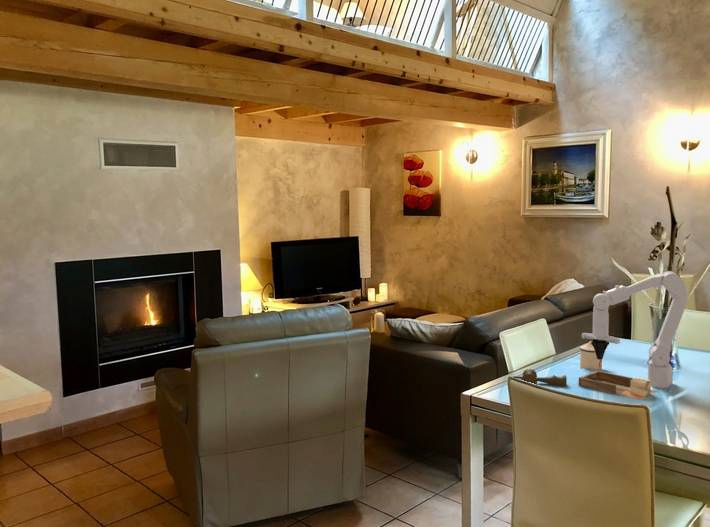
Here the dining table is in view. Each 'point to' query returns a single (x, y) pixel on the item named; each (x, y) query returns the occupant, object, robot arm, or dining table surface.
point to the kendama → (542, 378)
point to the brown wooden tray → (609, 383)
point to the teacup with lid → (589, 357)
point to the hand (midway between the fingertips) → (599, 359)
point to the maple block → (640, 386)
